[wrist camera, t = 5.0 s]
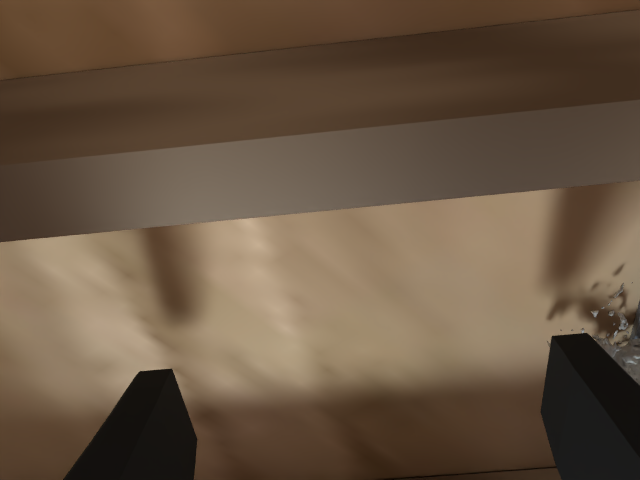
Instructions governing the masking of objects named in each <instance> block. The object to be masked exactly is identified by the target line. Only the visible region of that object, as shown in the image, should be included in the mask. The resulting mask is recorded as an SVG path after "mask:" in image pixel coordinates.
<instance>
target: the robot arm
mask: <svg viewBox="0 0 640 480" xmlns="http://www.w3.org/2000/svg"><path fill="white" fill-rule="evenodd" d="M541 415H542V418H543V422H544V426H545V429H546V433H547V437H548V440H549V444H550V447H551V450H552V454H553V457H554V461H555V464H556V467H557V469H558V472H559V474H560V477H561V479H562V480H640V385H639V384H638V383H637V382H636V381H635V380H634V379H633V378H632V377H631V376H630V375H629V374H628V373H627V372H626V371H625V370H624V369H623V368H622V367H621V366H620V365H619V364H618V363H617V362H616V361H615V360H614V359H613V358H612V357H611V356H610V355H609V354H608V353H607V352H606V351H605V350H604V349H603V348H602V347H601V346H600V345H599V344H598V343H597V342H596V341H595V340H594V339H593V338H592V337H591V336H590V335H589V334H587V333H581V334H570V335H558V336H552V339H551V345H550V352H549V359H548V365H547V372H546V379H545V386H544V392H543V399H542V406H541ZM196 447H197V437H196V434H195V432H194V429H193V426H192V423H191V420H190V418H189V415H188V412H187V409H186V406H185V404H184V401H183V398H182V395H181V392H180V390H179V387H178V384H177V381H176V378H175V375H174V373H173V370H172V369H162V370H150V371H140V372H139V373H138V374H137V375H136V376H135V378H134V379H133V381H132V382H131V384H130V385H129V387H128V388H127V389H126V391H125V392H124V394H123V395H122V397H121V398H120V400H119V401H118V403H117V404H116V406H115V407H114V409H113V410H112V412H111V413H110V415H109V416H108V418H107V419H106V421H105V422H104V423H103V425H102V426H101V428H100V429H99V431H98V432H97V434H96V435H95V436H94V438H93V439H92V441H91V442H90V443H89V445H88V446H87V448H86V449H85V450H84V452H83V453H82V454H81V456H80V457H79V459H78V460H77V461H76V463H75V464H74V466H73V467H72V468H71V470H70V471H69V472H68V474H67V475H66V477H65V478H64V479H63V480H194V471H195V459H196Z"/></svg>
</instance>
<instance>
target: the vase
mask: <svg viewBox="0 0 640 480" xmlns="http://www.w3.org/2000/svg"><path fill="white" fill-rule="evenodd" d="M632 283H633V282H632ZM623 284H624V283H622V285H621V287H620V290H619V291H618V292H616V293H615V295H614V298H616V297H617V296H618V294H619V293H621V292H622V291H623ZM611 302H612V300H611ZM611 302H610V303H611ZM610 303H609V304H608V306H609V305H610ZM603 308H604V307H602V308H601V309H603ZM591 312H592V313H593V315H594V317H596V315H597V314H598V312H599V311H598V310H596V311H591ZM608 314H609V315H610V316H613V314H615V312H614V310H613V311H610V312H609V313H608ZM618 316H619V317H620V326H619V328H618V329H623V330H625V329H626V328H627V327H628V323H627V320H626V318H625V316H624V315H623V314H622V313H619V312H618ZM624 324H626V325H625V326H624ZM613 325H615V323H613ZM561 331H562V330H561ZM571 331H573V330H571ZM581 332H582V333H584V328H582V329H581ZM617 332H618V330H616V331H615V333H614V337H615V336H617V335H616V334H617ZM626 332H627V333H628V334H629V332H628V331H626ZM607 336H609V334H607ZM592 337H593V338H594V339H597V340H596V342H597V343H598V344H599V345H600V346H601V347H602V348H603V349H604V350H605V351H606V352H607V353H608V354H609V355H610V356H611V357H612V358H613V359H614V360H615V361H616V362H617V363H618V364H619V365H620V366H621V367H622V368H623V369H624V370H625V371H626V372H627V373H628V374H629V375H630V376H631V377H632V378H633V379H634V380H635V381H636V382H637V383H638V384H639V385H640V338H638V339H633V340H632V339H630V341H629V342H628V344H627V345H625V346H623V347H620V346H616V345H617V344H616V342H614V345H612V344H611V343H610V342H609V340H608V339H607V338H605V339H603V338H599V336H598V335H592ZM614 337H613V339H614ZM624 337H625V338H626V337H627V335H624ZM547 343H548V345H549V347H550V345H551V344H550V343H549V342H548V341H547ZM618 343H619V344H620V343H622V342H621V341H618Z"/></svg>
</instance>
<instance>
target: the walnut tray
mask: <svg viewBox="0 0 640 480" xmlns="http://www.w3.org/2000/svg"><path fill="white" fill-rule="evenodd" d="M639 180H640V10H633V11H624V12H615V13H606V14H597V15H588V16H579V17H570V18H561V19H552V20H543V21H534V22H525V23H516V24H507V25H498V26H489V27H480V28H471V29H461V30H452V31H443V32H434V33H425V34H416V35H407V36H398V37H389V38H380V39H371V40H362V41H353V42H344V43H335V44H326V45H317V46H308V47H299V48H290V49H281V50H272V51H263V52H253V53H244V54H235V55H226V56H217V57H208V58H199V59H190V60H181V61H172V62H163V63H154V64H145V65H136V66H127V67H118V68H109V69H100V70H91V71H82V72H73V73H64V74H54V75H45V76H36V77H27V78H18V79H9V80H0V242H6V241H16V240H27V239H37V238H47V237H58V236H68V235H79V234H89V233H99V232H110V231H120V230H131V229H141V228H151V227H162V226H172V225H182V224H193V223H203V222H214V221H224V220H234V219H245V218H255V217H266V216H276V215H286V214H297V213H307V212H317V211H328V210H338V209H349V208H359V207H369V206H380V205H390V204H401V203H411V202H421V201H432V200H442V199H452V198H463V197H473V196H484V195H494V194H504V193H515V192H525V191H535V190H546V189H556V188H567V187H577V186H587V185H598V184H608V183H619V182H629V181H639ZM396 480H562V479H561V477H560V474H559V472H558V469H557V468H547V469H533V470H519V471H506V472H492V473H478V474H465V475H451V476H437V477H423V478H410V479H396Z"/></svg>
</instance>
